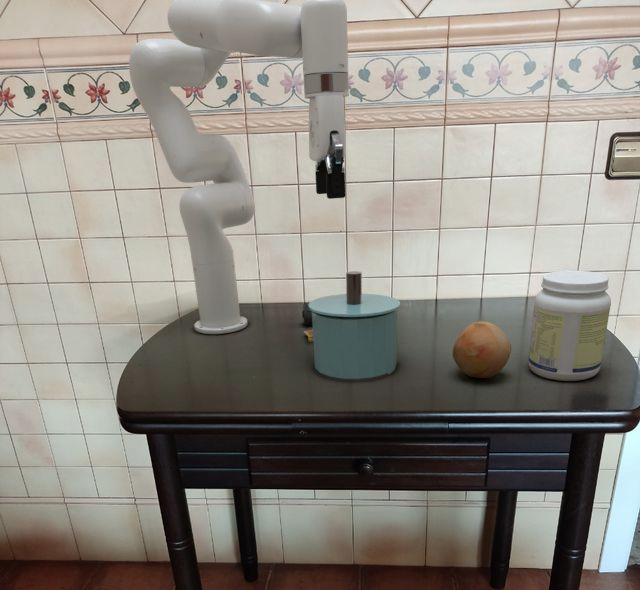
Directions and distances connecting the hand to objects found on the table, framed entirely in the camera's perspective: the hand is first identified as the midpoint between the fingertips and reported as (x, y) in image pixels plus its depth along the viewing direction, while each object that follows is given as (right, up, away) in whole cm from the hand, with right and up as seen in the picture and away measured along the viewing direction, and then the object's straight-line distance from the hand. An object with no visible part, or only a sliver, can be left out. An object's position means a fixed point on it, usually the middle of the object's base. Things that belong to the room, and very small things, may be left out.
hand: (330, 195), depth 108 cm
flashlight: (+2, -17, +33) cm, 38 cm away
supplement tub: (+42, -32, 0) cm, 53 cm away
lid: (+4, -20, +1) cm, 20 cm away
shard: (+1, -23, +22) cm, 32 cm away
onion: (+27, -33, -1) cm, 43 cm away
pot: (+5, -30, +7) cm, 31 cm away
